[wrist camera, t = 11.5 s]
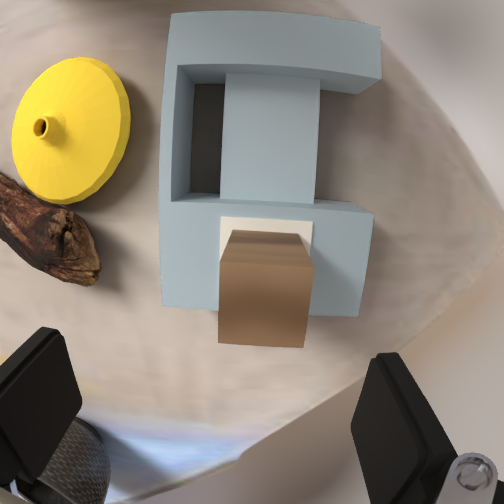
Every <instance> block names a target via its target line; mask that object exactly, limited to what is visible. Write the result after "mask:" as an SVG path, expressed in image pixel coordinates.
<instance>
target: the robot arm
mask: <svg viewBox="0 0 504 504" xmlns="http://www.w3.org/2000/svg"><path fill="white" fill-rule="evenodd" d="M81 406H82V397H81V394H80V391H79V388H78V385H77V381H76V378H75V375H74V372H73V368H72V365H71V362H70V358H69V354H68V351H67V347H66V343H65V339H64V337H63V336H62V335H61V334H60V332H59V331H58V330H57V329H52V328H47V327H41V328H40V329H38V330H37V331H36V332H35V333H34V334H33V335H32V336H31V337H30V338H29V339H28V340H27V341H26V342H25V343H23V344H22V345H21V346H20V347H19V348H18V349H17V350H16V351H15V352H14V353H13V354H12V355H11V356H10V357H9V358H8V359H7V360H6V361H5V362H4V363H3V364H2V365H1V366H0V504H31V503H29V502H27V501H25V500H23V499H21V498H19V495H18V491H17V487H16V483H15V478H16V476H17V475H18V477H19V478H20V479H22V480H24V481H26V482H28V483H30V484H33V483H34V481H35V479H36V478H39V477H40V476H41V475H42V473H43V471H44V469H45V468H46V466H47V464H48V462H49V461H50V459H51V457H52V455H53V454H54V452H55V450H56V449H57V447H58V445H59V443H60V442H61V440H62V438H63V437H64V435H65V433H66V432H67V430H68V428H69V427H70V425H71V423H72V422H73V420H74V418H75V417H76V415H77V413H78V412H79V410H80V409H81ZM351 432H352V436H353V440H354V443H355V447H356V450H357V454H358V457H359V461H360V465H361V468H362V472H363V476H364V479H365V483H366V487H367V490H368V495H369V498H370V503H371V504H504V482H502V481H500V480H498V479H497V478H498V472H497V469H496V466H495V465H494V463H493V462H492V461H491V460H490V459H489V458H487V457H486V456H484V455H482V454H479V453H465V454H463V455H460V456H458V455H457V453H456V451H455V449H454V447H453V446H452V444H451V442H450V440H449V438H448V436H447V435H446V433H445V431H444V429H443V427H442V426H441V424H440V422H439V420H438V419H437V417H436V415H435V413H434V411H433V410H432V408H431V406H430V405H429V403H428V401H427V399H426V398H425V396H424V395H423V393H422V392H421V390H420V388H419V387H418V385H417V383H416V382H415V380H414V378H413V377H412V375H411V373H410V372H409V370H408V368H407V367H406V365H405V364H404V362H403V360H402V359H401V357H400V356H399V354H398V353H396V352H392V353H379V354H377V356H376V358H372V359H371V361H370V364H369V367H368V371H367V374H366V378H365V381H364V384H363V388H362V391H361V394H360V397H359V400H358V404H357V407H356V410H355V412H354V416H353V419H352V422H351Z"/></svg>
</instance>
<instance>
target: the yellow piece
mask: <svg viewBox="0 0 504 504" xmlns="http://www.w3.org/2000/svg"><path fill="white" fill-rule="evenodd" d="M130 124H131V113H130V106H129V99H128V96H127V93H126V91H125V89H124V86H123V84H122V82H121V79H120V78H119V77H118V76H117V75H116V73H115V72H114V71H113V70H112V69H111V68H110V66H108V65H106V64H104V63H102V62H101V61H99V60H97V59H93V58H86V57H76V58H71V59H66V60H63V61H61V62H59V63H57V64H55V65H53V66H51V67H50V68H49V69H47V70H46V71H45V72H44V73H43V74H41V75H40V76H39V77H38V78H37V79H36V80H35V81H34V82H33V84H32V85H31V86H30V88H29V89H28V90H27V92H26V93H25V95H24V97H23V99H22V101H21V103H20V105H19V107H18V109H17V112H16V116H15V119H14V123H13V129H12V151H13V159H14V162H15V164H16V167H17V170H18V173H19V175H20V177H21V178H22V180H23V181H24V183H25V184H26V186H27V187H28V189H29V190H31V191H32V192H33V193H34V194H35V195H36V196H38V197H39V198H40V199H43V200H45V201H48V202H50V203H53V204H71V203H74V202H78V201H81V200H84V199H85V198H87V197H88V196H90V195H91V194H93V193H95V192H96V191H98V190H99V189H100V187H101V186H102V185H103V184H104V183H105V182H106V181H107V180H108V179H109V178H110V177H111V175H112V174H113V173H114V171H115V169H116V168H117V166H118V164H119V162H120V161H121V159H122V157H123V155H124V152H125V149H126V145H127V142H128V139H129V134H130Z"/></svg>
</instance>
